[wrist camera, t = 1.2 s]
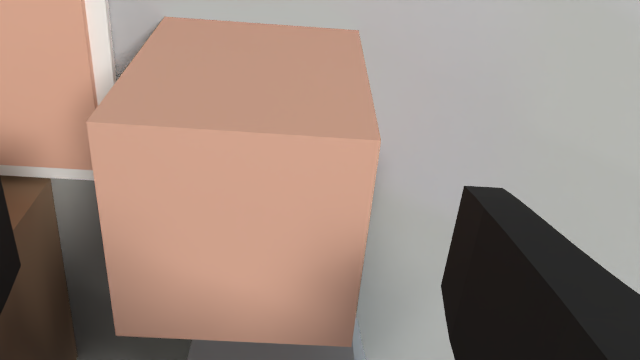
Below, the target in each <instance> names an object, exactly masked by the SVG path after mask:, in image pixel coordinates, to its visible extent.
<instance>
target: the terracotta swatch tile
mask: <svg viewBox="0 0 640 360" xmlns="http://www.w3.org/2000/svg"><path fill="white" fill-rule="evenodd" d="M116 81H117V80H116V70H115V61H114V52H113V42H112V33H111V23H110V14H109V4H108V0H0V175H7V176H24V177H42V178H59V179H77V180H94V175H93V167H92V160H91V153H90V146H89V139H88V131H87V124H86V121H87V120H88V119H89V117H90V116H91V115H92V113H93V112H94V111H95V109H96V108H97V107H98V105H99V104H100V103H101V101H102V100H103V99H104V97H105V96H106V95H107V93H108V92H109V91H110V89H111V88H112V87H113V85H114V84H115V83H116Z"/></svg>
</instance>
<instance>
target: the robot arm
mask: <svg viewBox="0 0 640 360" xmlns="http://www.w3.org/2000/svg"><path fill="white" fill-rule="evenodd" d="M20 267H21V263H20V259H19V255H18V250H17V246H16V242H15V237H14V233H13V229H12V225H11V220H10V216H9V212H8V208H7V203H6V199H5V195H4V191H3V186H2V182H1V178H0V315H1V312H2V310H3V308H4V306H5V303H6V301H7V299H8V297H9V294H10V292H11V289H12V287H13V284H14V282H15V279H16V277H17V274H18V272H19V269H20ZM441 288H442V295H443V302H444V309H445V316H446V322H447V328H448V333H449V339H450V343H451V347H452V350H453V354H454V357H455V360H640V294H638V293H637V292H635V291H634V290H633V289H631V288H630V287H628V286H627V285H626V284H624V283H623V282H622V281H620V280H619V279H618V278H616V277H615V276H614V275H612V274H611V273H610V272H608V271H607V270H606V269H604V268H603V267H602V266H601V265H599V264H598V263H597V262H595V261H594V260H593V259H592V258H590V257H589V256H588V255H587V254H585V253H584V252H583V251H581V250H580V249H579V248H578V247H576V246H575V245H574V244H573V243H572V242H570V241H569V240H568V239H567V238H565V237H564V236H563V235H562V234H560V233H559V232H558V231H557V230H556V229H554V228H553V227H552V226H551V225H549V224H548V223H547V222H546V221H545V220H543V219H542V218H541V217H540V216H538V215H537V214H536V213H535V212H534V211H532V210H531V209H530V208H529V207H527V206H526V205H525V204H524V203H522V202H521V201H520V200H518V199H517V198H516V197H514V196H513V195H512V194H510V193H509V192H507V191H506V190H505V189H503V188H492V187H474V186H464V189H463V193H462V198H461V202H460V206H459V211H458V215H457V219H456V224H455V228H454V232H453V236H452V241H451V245H450V249H449V254H448V258H447V262H446V267H445V271H444V275H443V279H442V284H441Z"/></svg>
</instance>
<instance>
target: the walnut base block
mask: <svg viewBox="0 0 640 360" xmlns="http://www.w3.org/2000/svg"><path fill="white" fill-rule="evenodd" d="M0 178H1V182H2V186H3V191H4V195H5V199H6V203H7V208H8V212H9V216H10V220H11V225H12V229H13V233H14V237H15V242H16V246H17V250H18V255H19V259H20V263H21V267H20V269H19V272H18V274H17V277H16V279H15V282H14V284H13V287H12V289H11V292H10V294H9V297H8V299H7V301H6V303H5V306H4V308H3V310H2V312H1V315H0V360H76V359H77V357H78V355H77V348H76V342H75V335H74V329H73V322H72V316H71V309H70V303H69V296H68V290H67V283H66V277H65V270H64V264H63V257H62V251H61V244H60V238H59V231H58V225H57V218H56V212H55V205H54V199H53V192H52V186H51V179H49V178H36V177H23V176H7V175H0Z"/></svg>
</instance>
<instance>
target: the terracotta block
mask: <svg viewBox="0 0 640 360" xmlns="http://www.w3.org/2000/svg"><path fill="white" fill-rule="evenodd" d="M86 124H87V131H88V139H89V146H90V153H91V160H92V167H93V175H94V182H95V189H96V196H97V204H98V211H99V218H100V225H101V232H102V240H103V247H104V254H105V261H106V269H107V276H108V283H109V290H110V297H111V305H112V312H113V319H114V326H115V334H116V336H130V337H151V338H172V339H193V340H214V341H235V342H256V343H276V344H297V345H318V346H339V347H351V346H352V339H353V332H354V325H355V318H356V311H357V304H358V297H359V290H360V283H361V276H362V270H363V263H364V256H365V249H366V242H367V235H368V228H369V221H370V214H371V207H372V200H373V193H374V186H375V179H376V172H377V165H378V158H379V151H380V144H381V138H380V134H379V129H378V124H377V119H376V114H375V109H374V104H373V99H372V94H371V90H370V85H369V80H368V75H367V70H366V65H365V60H364V55H363V50H362V45H361V41H360V36H359V31H358V30H344V29H330V28H316V27H302V26H288V25H274V24H260V23H246V22H232V21H218V20H203V19H189V18H175V17H164V18H163V20H162V21H161V22H160V24H159V25H158V26H157V28H156V29H155V30H154V32H153V33H152V34H151V36H150V37H149V38H148V40H147V41H146V42H145V44H144V45H143V46H142V48H141V49H140V50H139V52H138V53H137V54H136V56H135V57H134V58H133V60H132V61H131V62H130V64H129V65H128V67H127V68H126V69H125V71H124V72H123V73H122V75H121V76H120V77H119V79H118V80H117V81H116V83H115V84H114V85H113V87H112V88H111V89H110V91H109V92H108V93H107V95H106V96H105V97H104V99H103V100H102V101H101V103H100V104H99V105H98V107H97V108H96V109H95V111H94V112H93V113H92V115H91V116H90V117H89V119H88V120H87V121H86Z"/></svg>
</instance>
